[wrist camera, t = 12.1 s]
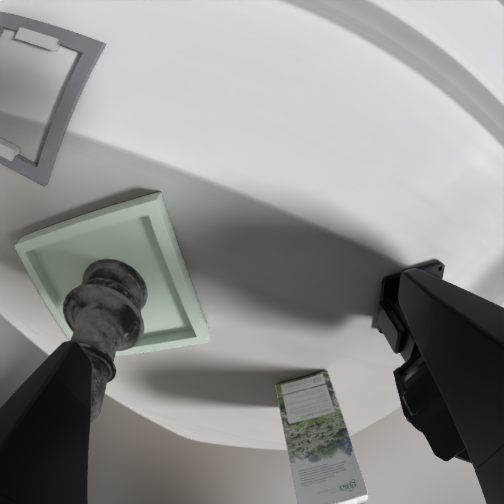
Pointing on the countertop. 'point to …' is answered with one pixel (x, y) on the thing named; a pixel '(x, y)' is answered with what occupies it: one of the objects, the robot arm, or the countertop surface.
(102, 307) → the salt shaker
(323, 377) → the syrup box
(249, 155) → the countertop surface
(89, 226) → the tray
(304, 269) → the countertop surface
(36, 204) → the countertop surface
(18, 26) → the socket
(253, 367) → the countertop surface
